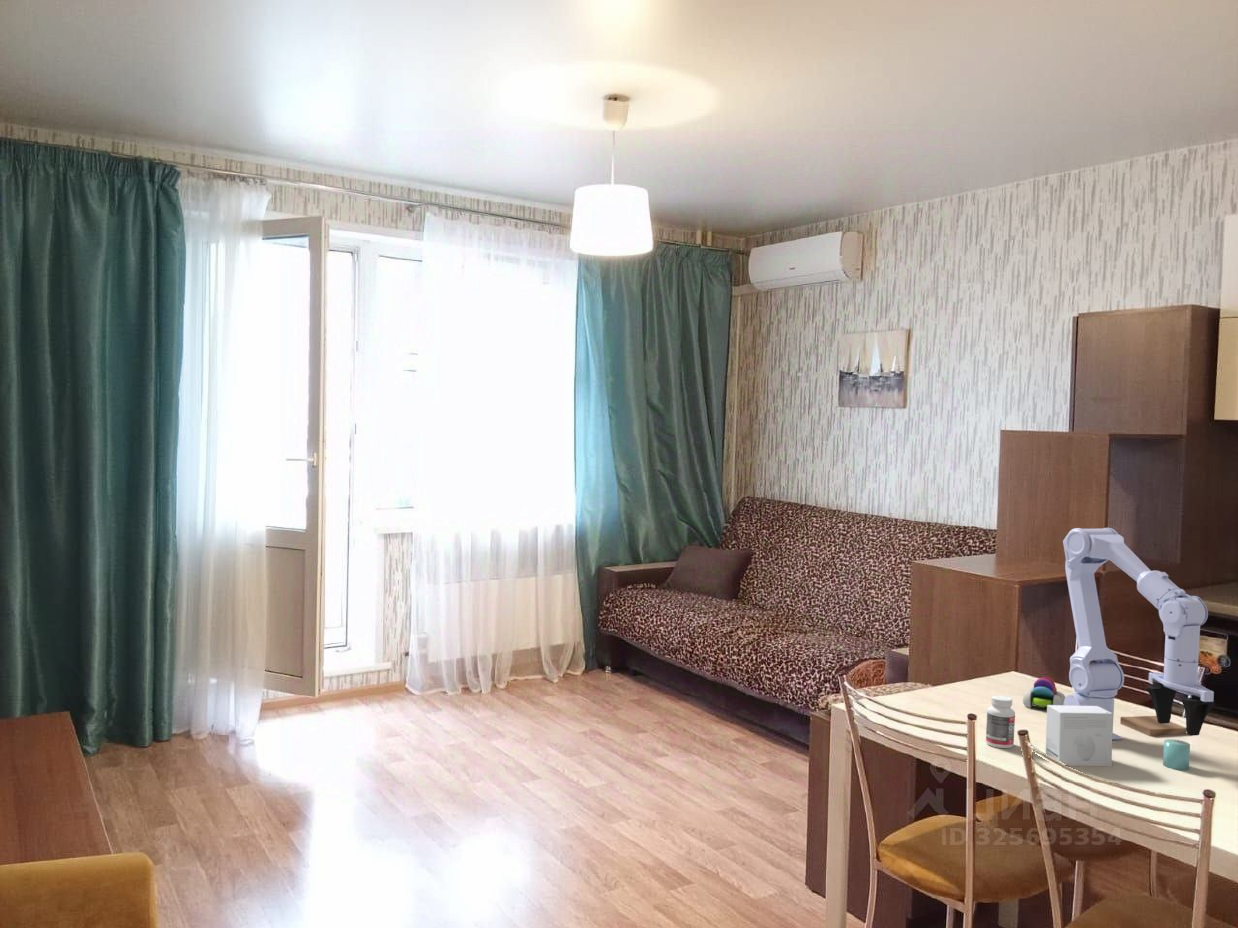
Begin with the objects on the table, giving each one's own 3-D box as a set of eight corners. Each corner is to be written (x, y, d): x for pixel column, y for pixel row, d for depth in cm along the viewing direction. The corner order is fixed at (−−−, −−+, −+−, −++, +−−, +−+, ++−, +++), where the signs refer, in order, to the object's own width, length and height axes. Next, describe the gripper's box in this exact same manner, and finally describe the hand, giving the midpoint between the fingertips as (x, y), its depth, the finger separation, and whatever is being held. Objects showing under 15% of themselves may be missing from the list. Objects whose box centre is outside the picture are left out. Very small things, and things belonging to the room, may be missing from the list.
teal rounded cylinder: (1174, 772, 189) (1175, 746, 189) (1157, 764, 193) (1158, 739, 193) (1194, 771, 190) (1195, 746, 189) (1177, 764, 194) (1178, 738, 194)
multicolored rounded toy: (1066, 706, 234) (1067, 676, 233) (1060, 716, 225) (1061, 684, 225) (1028, 700, 238) (1029, 670, 238) (1020, 709, 230) (1022, 678, 230)
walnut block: (1149, 740, 210) (1149, 729, 210) (1120, 727, 219) (1120, 716, 219) (1185, 739, 212) (1186, 728, 212) (1155, 726, 221) (1155, 715, 221)
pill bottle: (1014, 750, 199) (1016, 702, 199) (986, 747, 201) (988, 699, 201) (1012, 742, 205) (1014, 695, 204) (985, 739, 206) (987, 693, 206)
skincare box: (1095, 756, 197) (1097, 704, 197) (1112, 767, 191) (1114, 713, 191) (1043, 755, 197) (1046, 703, 197) (1058, 766, 191) (1061, 712, 190)
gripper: (1229, 667, 184) (1225, 739, 185) (1171, 650, 198) (1168, 717, 199) (1196, 668, 183) (1192, 740, 183) (1140, 650, 197) (1137, 718, 198)
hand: (1178, 728), depth 191 cm, fingers open, 7 cm apart
